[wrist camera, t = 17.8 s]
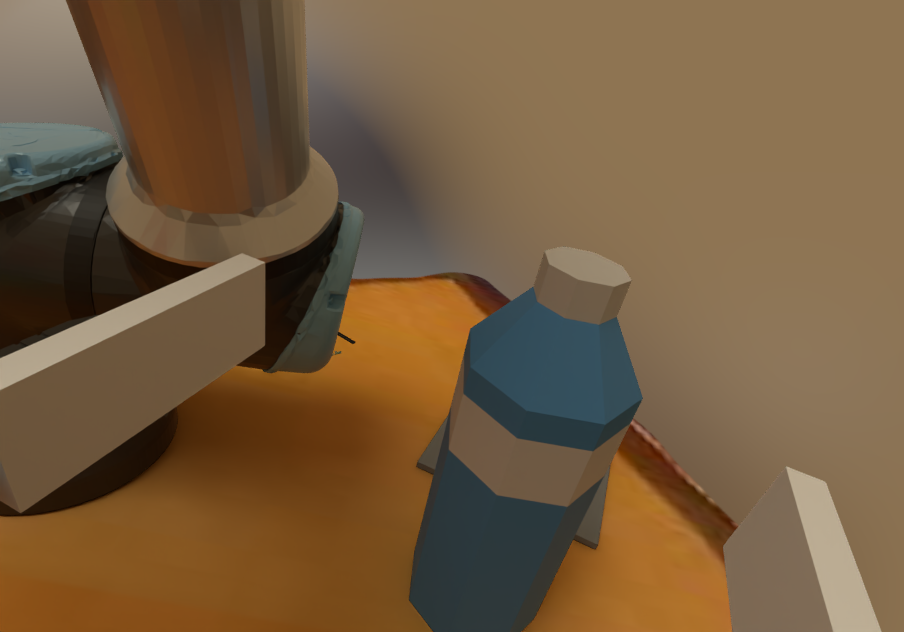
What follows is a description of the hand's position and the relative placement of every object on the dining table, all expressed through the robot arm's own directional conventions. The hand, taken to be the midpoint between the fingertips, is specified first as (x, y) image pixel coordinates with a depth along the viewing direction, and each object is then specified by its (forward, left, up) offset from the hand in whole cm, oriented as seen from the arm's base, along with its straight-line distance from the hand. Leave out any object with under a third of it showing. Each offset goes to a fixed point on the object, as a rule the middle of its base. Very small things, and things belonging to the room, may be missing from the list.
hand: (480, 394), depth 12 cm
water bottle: (+1, +13, -26) cm, 29 cm away
